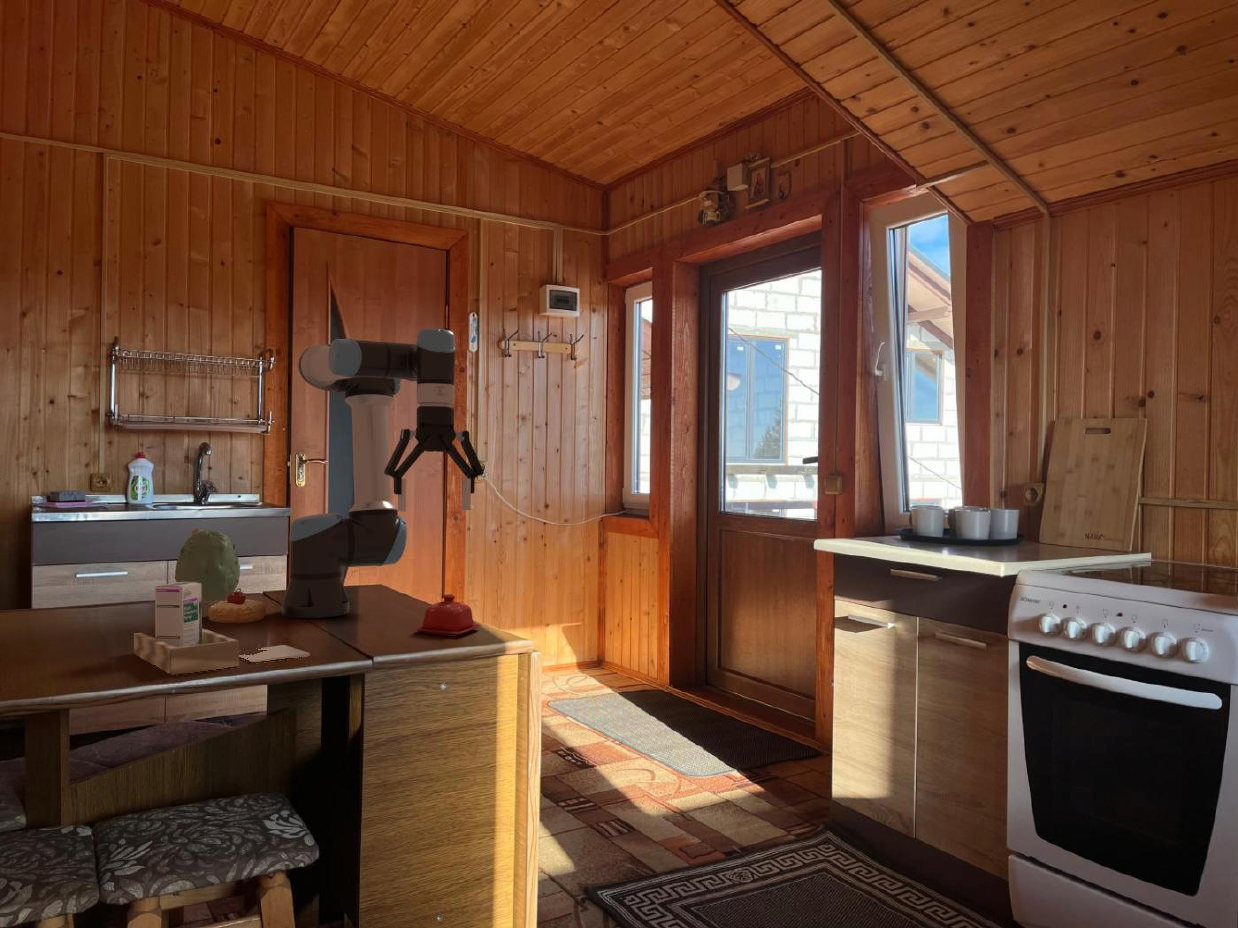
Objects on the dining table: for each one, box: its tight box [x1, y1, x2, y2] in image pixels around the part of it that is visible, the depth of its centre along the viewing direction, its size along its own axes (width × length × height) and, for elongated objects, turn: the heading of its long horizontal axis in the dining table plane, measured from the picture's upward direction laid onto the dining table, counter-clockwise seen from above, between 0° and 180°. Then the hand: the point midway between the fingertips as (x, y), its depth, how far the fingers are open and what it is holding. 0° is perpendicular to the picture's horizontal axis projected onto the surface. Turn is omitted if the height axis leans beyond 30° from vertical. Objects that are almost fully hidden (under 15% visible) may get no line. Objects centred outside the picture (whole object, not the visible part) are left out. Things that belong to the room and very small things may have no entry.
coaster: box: [239, 644, 311, 662], centre depth 179 cm, size 11×11×1 cm
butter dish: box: [415, 593, 482, 637], centre depth 207 cm, size 12×12×8 cm
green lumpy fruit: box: [174, 528, 241, 601], centre depth 239 cm, size 16×19×20 cm
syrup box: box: [154, 581, 203, 647], centre depth 174 cm, size 6×6×14 cm
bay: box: [133, 627, 240, 675], centre depth 171 cm, size 20×11×5 cm, turn 44°
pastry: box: [207, 587, 267, 624], centre depth 212 cm, size 12×12×9 cm
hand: (434, 510), depth 191 cm, fingers open, 13 cm apart
